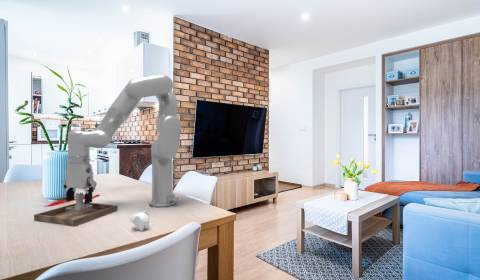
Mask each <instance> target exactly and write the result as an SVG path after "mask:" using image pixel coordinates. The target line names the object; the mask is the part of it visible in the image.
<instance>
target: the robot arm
mask: <svg viewBox="0 0 480 280" xmlns="http://www.w3.org/2000/svg"><path fill="white" fill-rule="evenodd" d="M173 89H174V83H173V80H172V78H170V76H167V75H165V74H158V75H157V74H156V75H149V76H143V77H136V78H133V79H132V78H131V79H130V80H129V81H128V82H127V83H126V85H125V86H124V87H123V89H122V90H121V91H120V93H119V95H118V96H117V97H116V99H115V100H114V101H113V102H112V103H111V105H110V106H109V108H108V109H107V112H105V115H104V117H103V118H102V119H101V120H100V122H99V123H98V125H97V126H96V128H95V129H94V130H93V131H92V130H89V131H86V130H70V131H69V132H68V134H67V150H68V151H67V161H68V163H67V165H66V166H67V167H66V174H65V175H66V177H65V179H62V182H61V183H62V184H63V189H64V192H65V196H66V197H65V198H66V200H65V201H67V202H66V203H69V202H68V201H70V202H73V201H72V200H74V199H75V190H74V189H80V190H81V189H83V191H84V192H85V193H84V196H85V199H84V202H85V203H93V199H92V197H93V193H94V192H95V190H96V187H97V185H98V182H97V181H95V180H94V173H93V166H92V164H91V163H90V161H91V158H90V152H91V151H90V148H93V149H103V148H106V147H107V146H109V144H110V143H111V139H112V138H113V136H114V134H115V133H116V131H117V130H118V129H119V128H120V126H122V125H123V123H125V122H126V121H127V120H128V118H130V116H131V115H132V113H133V112H134V110H135V109H136V108H137V106H138V105H139V103H140V102H141V100H142V99H143V98H148V97H154V96H155V97H156V98H157V101H158V114H157V118H156V123H155V129H156V132H157V133H158V137H157V139H155V140H154V141H153V142H152V145H150V146H151V147H150V155H151V200H149V201H148V205H149V206H150V207H153V208H164V207H171V206H174V205H176V203H178V202H179V201H180V196H176V195H175V193H174V191H173V189H174V185H173V181H174V180H173V178H174V174H173V173H174V171H173V170H174V169H173V168H174V166H173V163H174V162H173V158H174V157H175V156H176V155H177V153H178V151H179V146H180V140H181V133H182V124H181V121H180V119H179V118H178V117H177V113H178V112H177V111H178V100H177V97H176V95H175V93H174V92H173ZM74 201H75V200H74Z"/></svg>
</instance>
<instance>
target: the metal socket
mask: <svg viewBox="0 0 480 280" xmlns="http://www.w3.org/2000/svg"><path fill="white" fill-rule="evenodd" d="M75 206H76V205H75ZM75 206H72V207H68V208H65V214H69V215H76V216H79V215H82V214H85V213H88V212H91V211H93V205H85V204H84V206H85V207H84V208H81V209H74V208H75Z"/></svg>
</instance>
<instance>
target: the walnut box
mask: <svg viewBox="0 0 480 280" xmlns="http://www.w3.org/2000/svg"><path fill="white" fill-rule="evenodd" d="M83 204H85V205H93V211H91V212H88V213H85V214H82V215H79V216H76V215H69V214H65V208H68V207H72V206H75V205H76V202H75V203H72V204H68V205H64V206H62V207H57V208H54V209H49V210H45V211H43V212H39V213H36V214H33V222H41V223H47V224H53V225H59V226H60V225H62V226H69V227H79V225H84V224H86V223H88V222H89V223H90V222H91V221H94V220H96V219H99V218H102V217H105V216H108V215H109V214H112V213H113V214H114V213H115V212H117V211H118V209H119V208H118V204H117V205H116V204H106V203H97V202H90V203H85V201H83Z"/></svg>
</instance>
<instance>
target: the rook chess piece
mask: <svg viewBox="0 0 480 280" xmlns="http://www.w3.org/2000/svg"><path fill="white" fill-rule="evenodd" d="M84 195H85V193H83V192H77V193H75V194H74V198H75V199H76V200H75V203H76V206H75V208H74V209H81V208H84V207H85V206H84V204H83V202H84V199H83V196H84Z"/></svg>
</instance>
